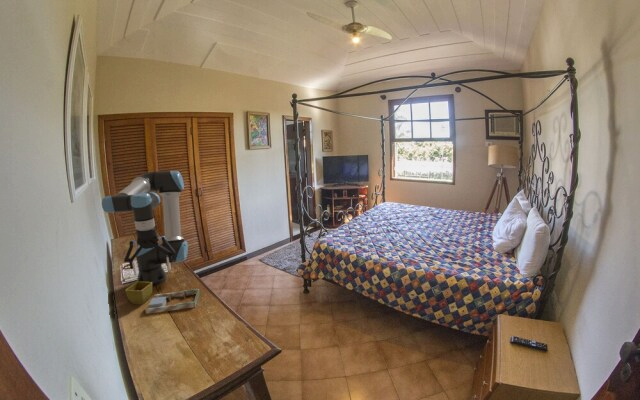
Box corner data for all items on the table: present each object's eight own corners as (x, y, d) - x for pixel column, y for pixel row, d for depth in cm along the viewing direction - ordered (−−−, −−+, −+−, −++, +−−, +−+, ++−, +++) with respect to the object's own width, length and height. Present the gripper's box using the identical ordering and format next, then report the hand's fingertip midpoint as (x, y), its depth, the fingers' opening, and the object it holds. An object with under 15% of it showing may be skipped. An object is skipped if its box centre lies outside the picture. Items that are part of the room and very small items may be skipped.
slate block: (149, 312, 139) (148, 304, 138) (153, 305, 144) (152, 298, 143) (163, 310, 140) (162, 303, 139) (166, 303, 146) (165, 296, 145)
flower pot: (155, 297, 151) (152, 281, 149) (143, 306, 143) (141, 290, 141) (139, 296, 152) (137, 281, 150) (127, 306, 144) (124, 290, 142)
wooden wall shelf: (146, 313, 137) (145, 308, 136) (155, 299, 149) (154, 294, 149) (195, 307, 142) (194, 302, 141) (199, 293, 154) (199, 288, 153)
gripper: (109, 235, 119) (119, 280, 124) (176, 227, 128) (182, 270, 133) (115, 229, 126) (123, 273, 131) (177, 222, 134) (183, 263, 140)
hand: (153, 271), depth 132 cm, fingers open, 13 cm apart
